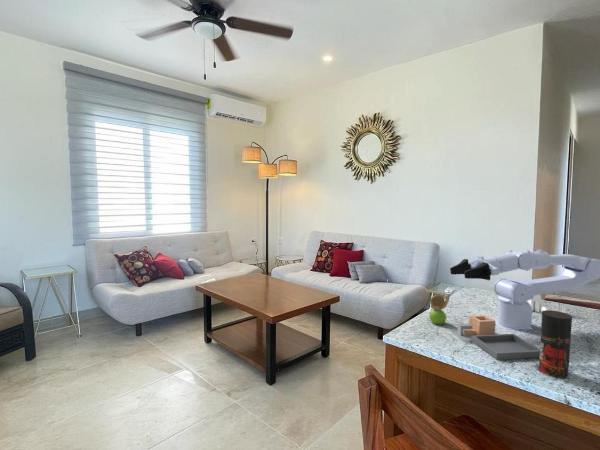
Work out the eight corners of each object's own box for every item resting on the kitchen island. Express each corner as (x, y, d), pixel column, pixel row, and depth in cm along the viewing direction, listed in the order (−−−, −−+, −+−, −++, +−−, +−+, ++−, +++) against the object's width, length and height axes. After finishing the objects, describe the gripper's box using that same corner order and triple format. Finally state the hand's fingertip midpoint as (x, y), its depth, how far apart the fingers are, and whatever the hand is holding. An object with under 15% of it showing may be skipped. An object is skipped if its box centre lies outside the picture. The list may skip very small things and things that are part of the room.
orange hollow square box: (484, 329, 110) (484, 315, 110) (494, 336, 105) (495, 321, 104) (459, 330, 109) (459, 316, 109) (468, 337, 104) (469, 322, 104)
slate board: (487, 329, 112) (487, 327, 112) (506, 340, 103) (506, 338, 103) (447, 330, 111) (447, 329, 111) (462, 342, 102) (462, 340, 102)
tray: (513, 341, 103) (513, 333, 103) (543, 359, 91) (544, 351, 91) (470, 343, 102) (471, 335, 101) (496, 361, 90) (496, 353, 90)
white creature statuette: (519, 311, 130) (521, 280, 129) (517, 304, 137) (519, 276, 136) (549, 315, 125) (551, 283, 124) (546, 308, 133) (547, 278, 132)
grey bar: (482, 332, 108) (482, 321, 108) (486, 334, 106) (486, 323, 106) (457, 333, 108) (457, 322, 107) (460, 335, 106) (460, 324, 105)
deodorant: (533, 366, 88) (536, 310, 86) (554, 365, 88) (557, 309, 87) (551, 378, 82) (555, 319, 80) (574, 377, 82) (578, 318, 81)
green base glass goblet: (450, 328, 113) (451, 293, 112) (430, 326, 114) (431, 292, 113) (447, 322, 118) (448, 289, 117) (427, 321, 120) (428, 288, 119)
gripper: (478, 251, 119) (443, 258, 117) (509, 255, 104) (470, 264, 103) (481, 270, 119) (446, 278, 117) (512, 278, 105) (473, 286, 103)
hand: (457, 273), depth 110 cm, fingers open, 7 cm apart
